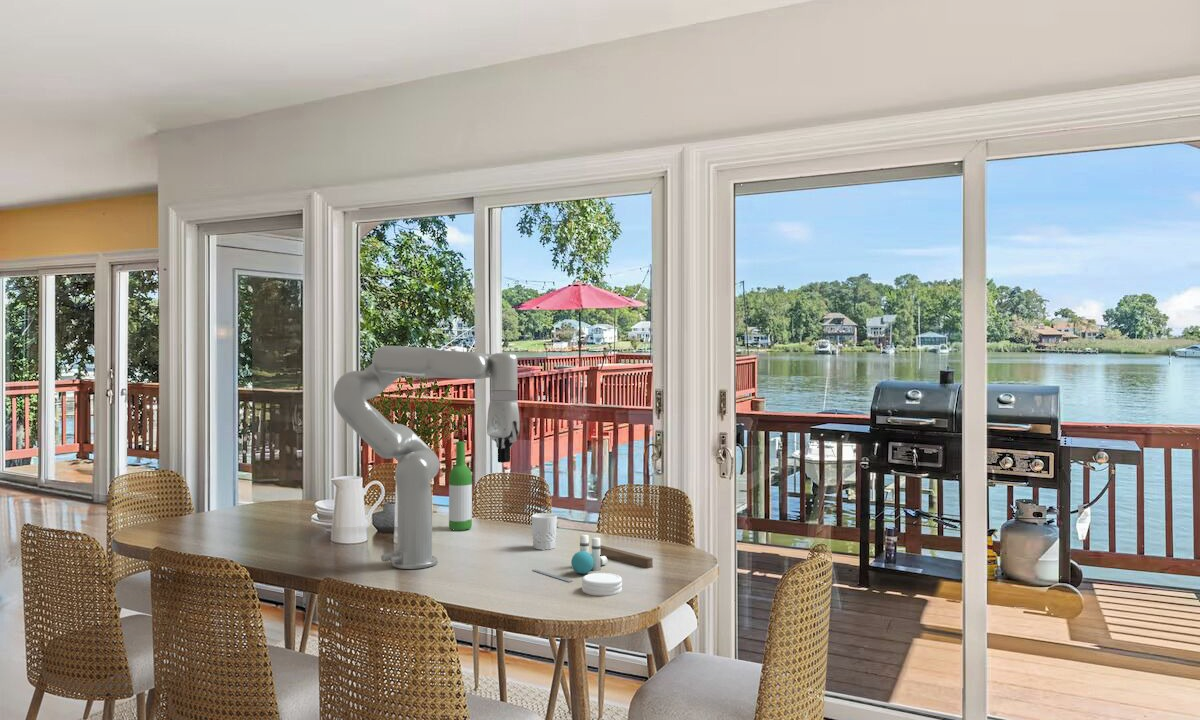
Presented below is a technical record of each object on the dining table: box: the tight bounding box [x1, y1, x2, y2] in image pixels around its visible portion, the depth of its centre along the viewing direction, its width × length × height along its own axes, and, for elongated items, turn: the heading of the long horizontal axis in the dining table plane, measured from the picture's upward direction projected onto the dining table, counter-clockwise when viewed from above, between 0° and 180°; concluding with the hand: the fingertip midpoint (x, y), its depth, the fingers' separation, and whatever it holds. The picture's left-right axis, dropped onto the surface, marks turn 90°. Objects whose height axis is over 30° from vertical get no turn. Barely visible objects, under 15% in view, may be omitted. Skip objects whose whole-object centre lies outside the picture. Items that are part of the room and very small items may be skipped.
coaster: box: [581, 572, 623, 597], centre depth 203 cm, size 10×10×4 cm
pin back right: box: [591, 537, 601, 571], centre depth 223 cm, size 2×2×8 cm
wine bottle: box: [448, 441, 473, 531], centre depth 279 cm, size 8×8×30 cm
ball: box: [571, 550, 594, 575], centre depth 219 cm, size 6×6×6 cm
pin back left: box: [579, 534, 590, 554], centre depth 227 cm, size 2×2×8 cm
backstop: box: [600, 544, 654, 569], centre depth 234 cm, size 2×22×2 cm, turn 42°
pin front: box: [600, 556, 608, 567], centre depth 226 cm, size 2×2×8 cm
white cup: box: [531, 512, 558, 550], centre depth 250 cm, size 8×8×10 cm
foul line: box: [531, 569, 574, 583], centre depth 216 cm, size 1×16×1 cm, turn 41°
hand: (504, 461), depth 228 cm, fingers closed
